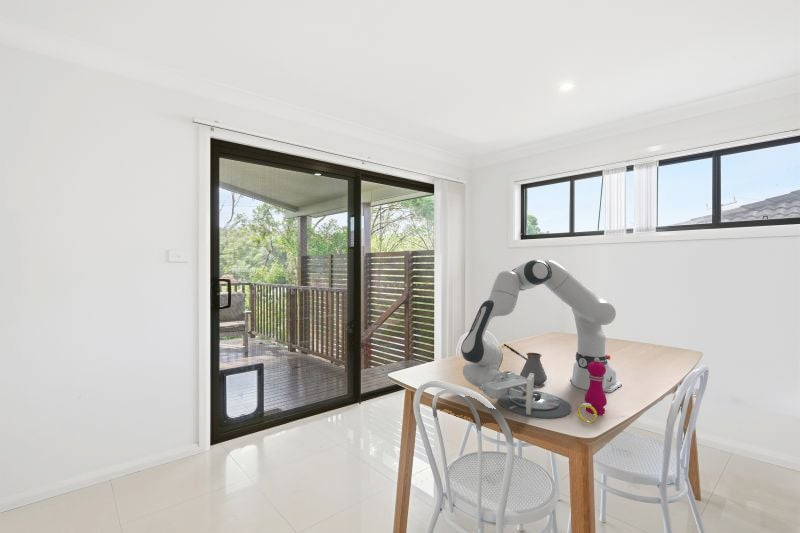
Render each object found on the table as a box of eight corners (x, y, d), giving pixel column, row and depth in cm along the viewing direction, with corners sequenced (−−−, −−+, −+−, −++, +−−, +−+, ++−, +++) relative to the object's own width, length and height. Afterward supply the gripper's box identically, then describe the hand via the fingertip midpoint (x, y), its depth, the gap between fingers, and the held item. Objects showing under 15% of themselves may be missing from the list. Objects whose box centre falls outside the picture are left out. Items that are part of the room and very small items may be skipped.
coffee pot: (551, 383, 171) (552, 349, 171) (539, 389, 163) (540, 354, 163) (508, 372, 186) (509, 341, 186) (495, 377, 178) (496, 345, 178)
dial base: (528, 388, 163) (528, 385, 163) (585, 409, 141) (585, 406, 141) (484, 399, 149) (484, 396, 149) (539, 424, 127) (540, 420, 127)
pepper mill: (609, 417, 135) (611, 360, 134) (587, 414, 136) (589, 359, 136) (602, 409, 142) (604, 355, 141) (581, 407, 143) (583, 354, 143)
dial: (513, 390, 157) (514, 358, 157) (560, 397, 150) (561, 364, 149) (501, 412, 134) (502, 375, 133) (556, 423, 126) (557, 383, 126)
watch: (576, 420, 132) (576, 403, 132) (579, 418, 134) (578, 401, 134) (595, 424, 128) (594, 406, 128) (598, 422, 130) (597, 404, 130)
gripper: (475, 378, 140) (504, 390, 128) (514, 370, 151) (543, 381, 139) (475, 395, 140) (503, 408, 129) (514, 386, 151) (543, 398, 139)
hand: (524, 394), depth 134 cm, fingers closed
